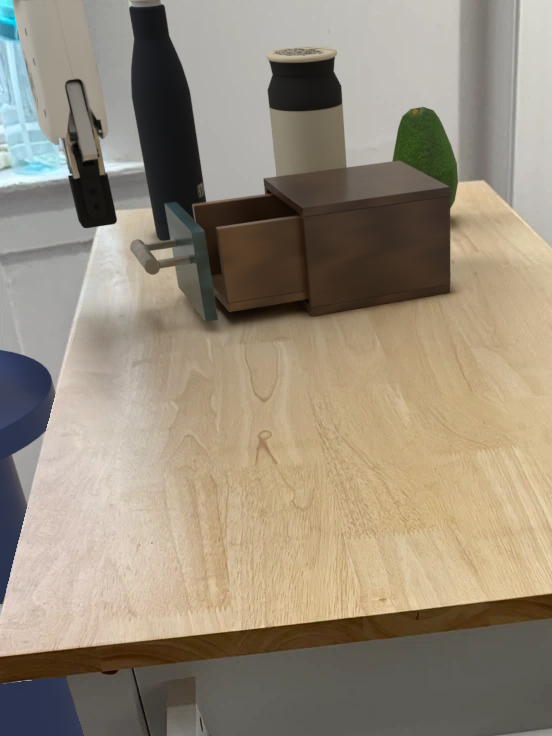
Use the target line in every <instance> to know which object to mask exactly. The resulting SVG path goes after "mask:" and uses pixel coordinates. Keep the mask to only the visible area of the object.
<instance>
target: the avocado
mask: <svg viewBox="0 0 552 736" xmlns="http://www.w3.org/2000/svg"><path fill="white" fill-rule="evenodd" d="M393 149H394V150H393V154H392V155H393V156H392V161H401V162H403V163H405V164H407V165H409V166H411V167H413V168H415V169H417V170H419V171H421V172H422V173H424V174H426V175H428V176H430V177H432V178H434V179H436V180H438V181H440V182H442V183H443V184H445V185H447V186H449V187H450V210H451V209H452V207H453V205H454V203H455V201H456V197H457V190H458V185H459V175H458V174H459V173H458V162H457V160H456V157H455V153H454V150H453V147H452V144H451V142H450V139H449V137H448V134H447V132H446V130H445V127H444V125H443V122H442V121H441V119H440V117H439V116H438V114H437V113H436V111H435V110H434V109H431V108H429V107H425V106H419V107H414V108H410V109H409V110H408V111H406V113H404V114H403V115H402V116H401V119H400V122H399V124H398V128H397V133H396V139H395V145H394V148H393Z"/></svg>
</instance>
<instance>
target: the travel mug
mask: <svg viewBox="0 0 552 736" xmlns="http://www.w3.org/2000/svg"><path fill="white" fill-rule="evenodd" d="M337 55H338V51H337V50H336V49H335V48H332V47H326V46H293V47H285V48H279V49H275V50H270V51H268V52H267V53H266V55H265V57H266V60H268V63H269V66H270V71H271V78H270V81H269V84H268V87H267V100H268V107H269V117H270V119H269V120H270V126H271V128H270V129H271V136H272V147H273V155H274V156H273V158H274V165H275V174H276V176H275V177H278V176H285V175H293V174H300V173H308V172H316V171H323V170H331V169H339V168H346V167H348V166H347V153H346V152H347V151H346V136H345V121H344V105H343V89H342V84H341V82H340V81H339V78H338V77H337V74H336V73H335V60H336V57H337Z"/></svg>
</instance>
